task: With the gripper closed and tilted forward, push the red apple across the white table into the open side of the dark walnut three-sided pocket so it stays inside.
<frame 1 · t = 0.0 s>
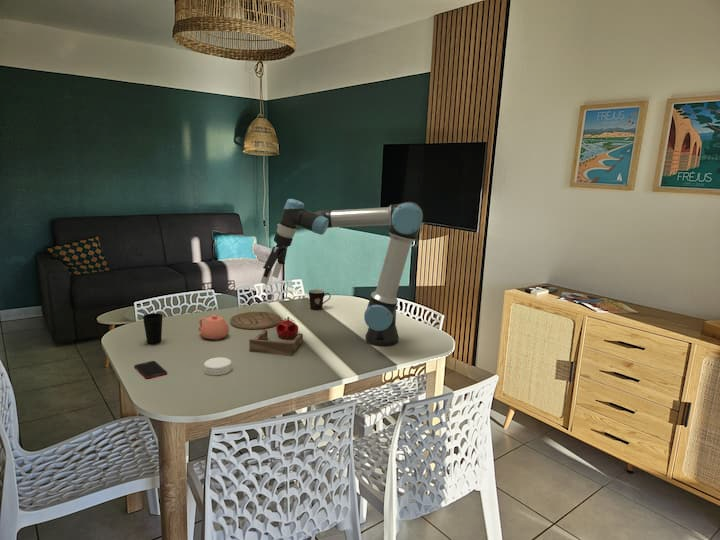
hand: (269, 280, 206), 28 cm above the table, tool tilted 20°, fingers open, 13 cm apart
walnut pocket: (277, 346, 206), on the table
sugar bowl: (213, 337, 215), on the table
cup: (154, 342, 205), on the table
cell phone: (150, 371, 177), on the table
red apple: (287, 336, 219), on the table
coffee mug: (318, 309, 264), on the table
white round disc: (218, 371, 180), on the table
trivet: (256, 322, 238), on the table
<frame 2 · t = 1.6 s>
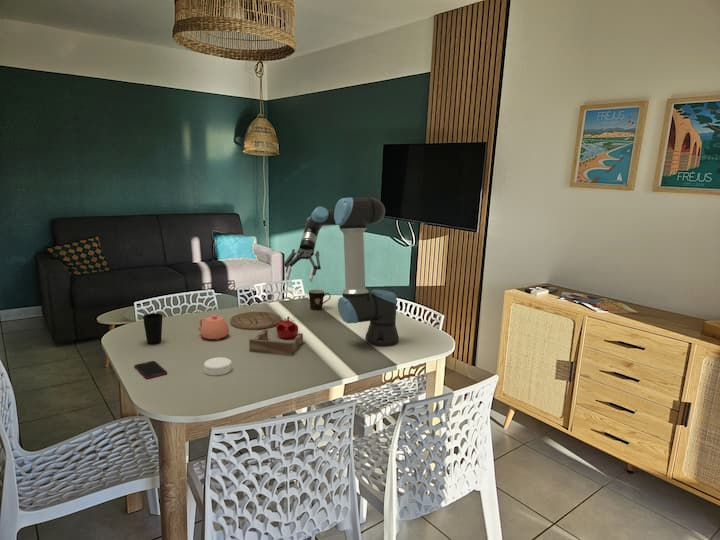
hand: (298, 279, 230), 23 cm above the table, tool tilted 45°, fingers open, 11 cm apart
nothing on the table moved.
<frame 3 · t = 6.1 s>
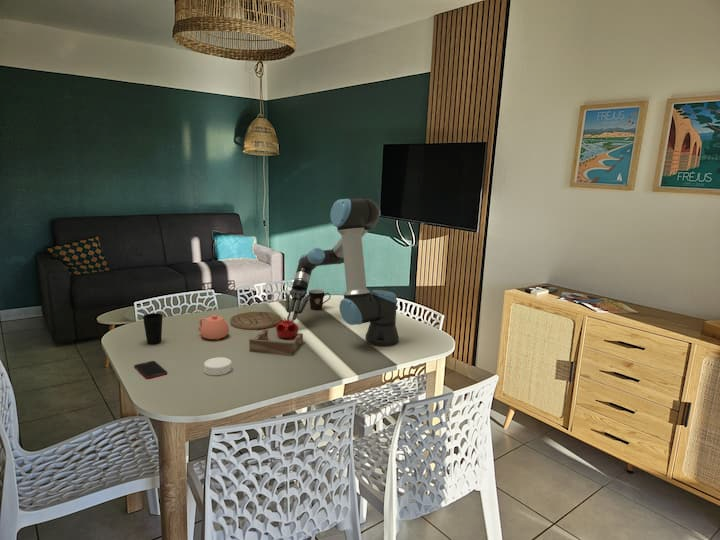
hand: (289, 325, 224), 3 cm above the table, tool tilted 45°, fingers closed
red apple: (287, 336, 218), on the table, touching gripper
everything else where it was.
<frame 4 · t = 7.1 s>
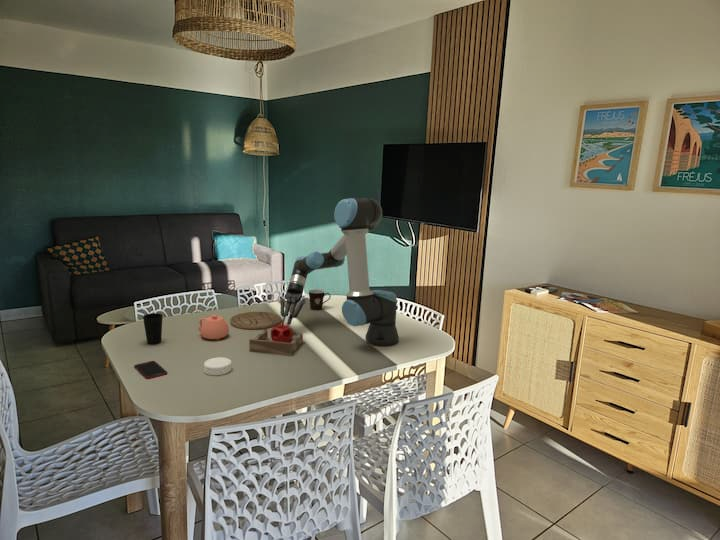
hand: (284, 330, 217), 3 cm above the table, tool tilted 45°, fingers closed
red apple: (282, 341, 211), on the table, touching gripper
everything else where it was.
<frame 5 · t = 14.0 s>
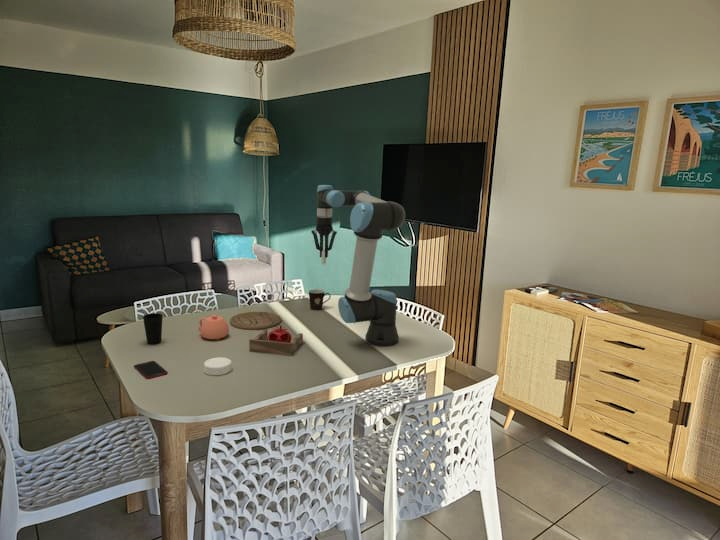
hand: (323, 263, 239), 29 cm above the table, tool pointing down, fingers closed
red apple: (279, 346, 207), on the table
everything else where it was.
at the end: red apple 1.2 cm from the walnut pocket (horizontally); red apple moved 12.2 cm from its start; the gripper is holding nothing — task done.
